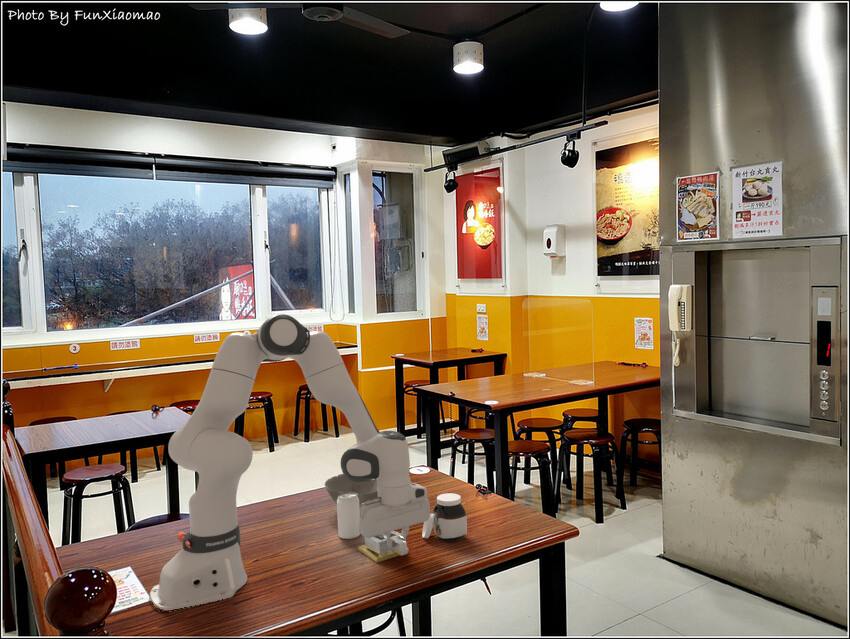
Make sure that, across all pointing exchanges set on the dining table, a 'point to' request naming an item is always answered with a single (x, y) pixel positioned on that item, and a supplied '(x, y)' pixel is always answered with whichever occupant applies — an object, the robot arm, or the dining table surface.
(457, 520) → the spread jar
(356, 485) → the ceramic bowl
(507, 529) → the dining table surface
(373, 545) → the grey square frame handle
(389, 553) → the post
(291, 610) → the dining table surface
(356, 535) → the can
